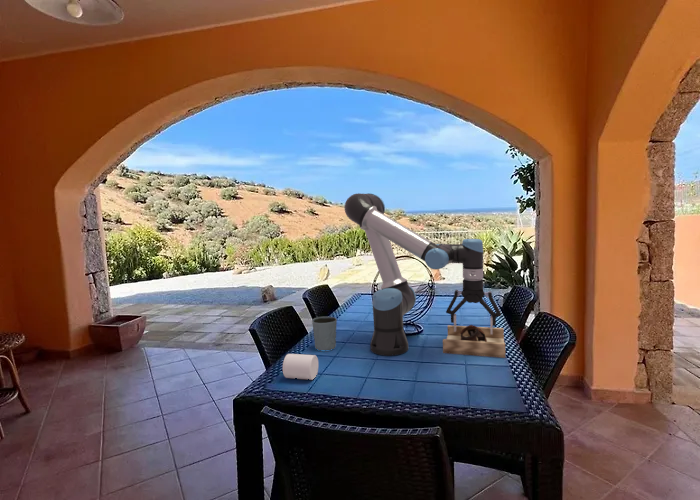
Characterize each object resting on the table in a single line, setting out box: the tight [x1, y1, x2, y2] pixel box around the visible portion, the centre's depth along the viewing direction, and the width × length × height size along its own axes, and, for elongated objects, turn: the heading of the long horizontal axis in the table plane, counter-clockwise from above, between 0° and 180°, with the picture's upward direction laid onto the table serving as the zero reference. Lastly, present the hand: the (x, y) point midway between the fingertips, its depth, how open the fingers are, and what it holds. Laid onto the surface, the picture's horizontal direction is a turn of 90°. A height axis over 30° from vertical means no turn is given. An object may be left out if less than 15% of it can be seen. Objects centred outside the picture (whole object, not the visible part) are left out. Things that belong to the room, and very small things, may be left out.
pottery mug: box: [460, 324, 487, 342], centre depth 149 cm, size 12×10×8 cm
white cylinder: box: [282, 353, 319, 381], centre depth 131 cm, size 12×10×8 cm
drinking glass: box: [311, 315, 338, 351], centre depth 156 cm, size 10×10×12 cm
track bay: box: [442, 324, 506, 359], centre depth 149 cm, size 22×19×5 cm
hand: (473, 332), depth 148 cm, fingers open, 13 cm apart
